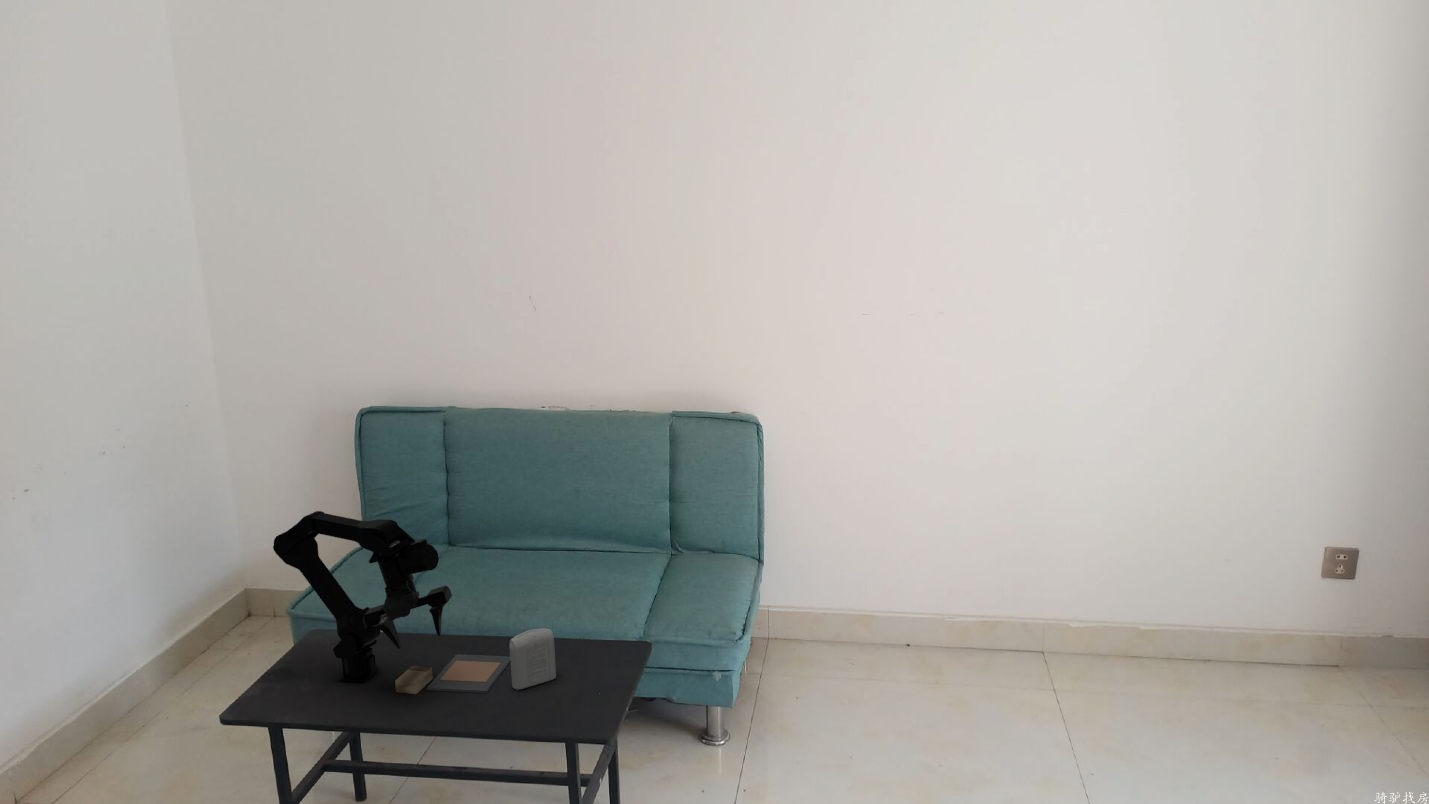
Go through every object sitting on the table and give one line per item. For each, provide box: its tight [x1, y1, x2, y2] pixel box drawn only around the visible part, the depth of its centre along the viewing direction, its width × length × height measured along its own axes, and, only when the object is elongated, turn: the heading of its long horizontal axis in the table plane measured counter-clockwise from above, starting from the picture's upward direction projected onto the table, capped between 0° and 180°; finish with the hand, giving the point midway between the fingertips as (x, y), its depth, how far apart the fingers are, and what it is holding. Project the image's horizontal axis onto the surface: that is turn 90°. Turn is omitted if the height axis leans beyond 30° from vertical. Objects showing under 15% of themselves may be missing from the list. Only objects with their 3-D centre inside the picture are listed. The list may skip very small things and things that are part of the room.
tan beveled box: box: [394, 665, 434, 695], centre depth 211 cm, size 5×7×3 cm
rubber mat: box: [426, 654, 511, 694], centre depth 216 cm, size 14×16×1 cm
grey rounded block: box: [508, 627, 557, 691], centre depth 210 cm, size 10×4×12 cm, turn 123°
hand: (419, 641), depth 209 cm, fingers open, 9 cm apart
